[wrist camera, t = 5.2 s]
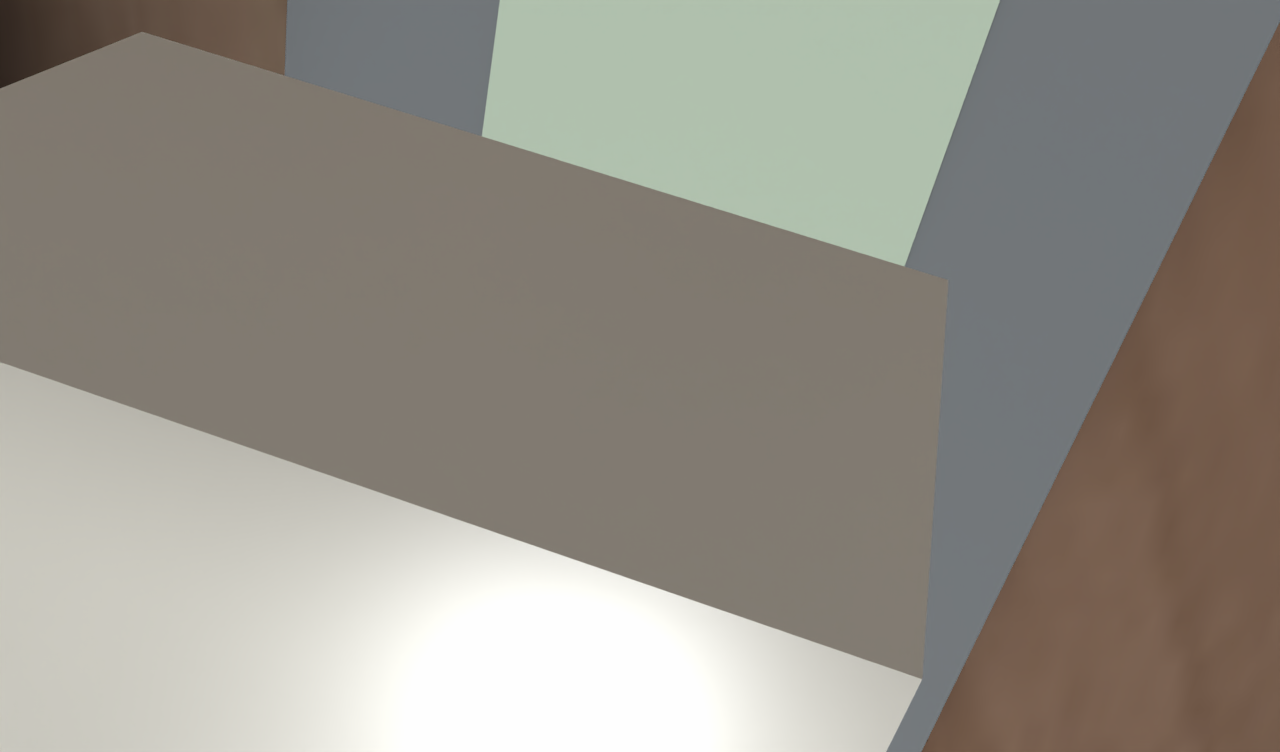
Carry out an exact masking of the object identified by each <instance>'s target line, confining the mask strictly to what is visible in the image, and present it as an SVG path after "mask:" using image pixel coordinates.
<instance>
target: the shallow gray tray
mask: <svg viewBox="0 0 1280 752" xmlns="http://www.w3.org/2000/svg"><path fill="white" fill-rule="evenodd" d="M1279 22H1280V0H287V26H286V54H285V76H287V77H291V78H294V79H297V80H300V81H304V82H307V83H310V84H313V85H317V86H320V87H323V88H326V89H330V90H333V91H336V92H339V93H343V94H346V95H349V96H352V97H356V98H359V99H362V100H365V101H369V102H372V103H375V104H378V105H382V106H385V107H388V108H391V109H395V110H398V111H401V112H404V113H408V114H411V115H414V116H417V117H421V118H424V119H427V120H430V121H434V122H437V123H440V124H443V125H446V126H450V127H453V128H456V129H459V130H463V131H466V132H469V133H472V134H476V135H479V136H482V137H485V138H489V139H492V140H495V141H498V142H502V143H505V144H508V145H511V146H515V147H518V148H521V149H524V150H528V151H531V152H534V153H537V154H541V155H544V156H547V157H550V158H554V159H557V160H560V161H563V162H567V163H570V164H573V165H576V166H580V167H583V168H586V169H589V170H593V171H596V172H599V173H602V174H606V175H609V176H612V177H615V178H619V179H622V180H625V181H628V182H632V183H635V184H638V185H641V186H645V187H648V188H651V189H654V190H657V191H661V192H664V193H667V194H670V195H674V196H677V197H680V198H683V199H687V200H690V201H693V202H696V203H700V204H703V205H706V206H709V207H713V208H716V209H719V210H722V211H726V212H729V213H732V214H735V215H739V216H742V217H745V218H748V219H752V220H755V221H758V222H761V223H765V224H768V225H771V226H774V227H778V228H781V229H784V230H787V231H791V232H794V233H797V234H800V235H804V236H807V237H810V238H813V239H817V240H820V241H823V242H826V243H830V244H833V245H836V246H839V247H843V248H846V249H849V250H852V251H856V252H859V253H862V254H865V255H869V256H872V257H875V258H878V259H881V260H885V261H888V262H891V263H894V264H898V265H901V266H904V267H907V268H911V269H914V270H917V271H920V272H924V273H927V274H930V275H933V276H937V277H940V278H943V279H946V280H948V294H947V309H946V325H945V340H944V355H943V370H942V386H941V401H940V416H939V431H938V447H937V462H936V477H935V493H934V508H933V523H932V538H931V554H930V569H929V584H928V599H927V615H926V630H925V645H924V660H923V676H922V681H921V683H920V685H919V687H918V689H917V691H916V693H915V695H914V697H913V699H912V701H911V703H910V705H909V707H908V709H907V711H906V713H905V715H904V717H903V719H902V721H901V723H900V725H899V727H898V729H897V731H896V733H895V735H894V737H893V739H892V741H891V743H890V745H889V747H888V749H887V751H886V752H921V751H922V749H923V747H924V745H925V743H926V741H927V739H928V737H929V735H930V733H931V731H932V729H933V727H934V725H935V723H936V721H937V719H938V717H939V715H940V713H941V711H942V709H943V707H944V704H945V702H946V700H947V698H948V696H949V694H950V692H951V690H952V688H953V686H954V684H955V682H956V680H957V678H958V676H959V674H960V672H961V670H962V668H963V666H964V664H965V662H966V660H967V658H968V656H969V654H970V652H971V649H972V647H973V645H974V643H975V641H976V639H977V637H978V635H979V633H980V631H981V629H982V627H983V625H984V623H985V621H986V619H987V617H988V615H989V613H990V611H991V609H992V607H993V605H994V603H995V601H996V599H997V597H998V594H999V592H1000V590H1001V588H1002V586H1003V584H1004V582H1005V580H1006V578H1007V576H1008V574H1009V572H1010V570H1011V568H1012V566H1013V564H1014V562H1015V560H1016V558H1017V556H1018V554H1019V552H1020V550H1021V548H1022V546H1023V544H1024V542H1025V539H1026V537H1027V535H1028V533H1029V531H1030V529H1031V527H1032V525H1033V523H1034V521H1035V519H1036V517H1037V515H1038V513H1039V511H1040V509H1041V507H1042V505H1043V503H1044V501H1045V499H1046V497H1047V495H1048V493H1049V491H1050V489H1051V487H1052V484H1053V482H1054V480H1055V478H1056V476H1057V474H1058V472H1059V470H1060V468H1061V466H1062V464H1063V462H1064V460H1065V458H1066V456H1067V454H1068V452H1069V450H1070V448H1071V446H1072V444H1073V442H1074V440H1075V438H1076V436H1077V434H1078V432H1079V430H1080V427H1081V425H1082V423H1083V421H1084V419H1085V417H1086V415H1087V413H1088V411H1089V409H1090V407H1091V405H1092V403H1093V401H1094V399H1095V397H1096V395H1097V393H1098V391H1099V389H1100V387H1101V385H1102V383H1103V381H1104V379H1105V377H1106V375H1107V372H1108V370H1109V368H1110V366H1111V364H1112V362H1113V360H1114V358H1115V356H1116V354H1117V352H1118V350H1119V348H1120V346H1121V344H1122V342H1123V340H1124V338H1125V336H1126V334H1127V332H1128V330H1129V328H1130V326H1131V324H1132V322H1133V320H1134V317H1135V315H1136V313H1137V311H1138V309H1139V307H1140V305H1141V303H1142V301H1143V299H1144V297H1145V295H1146V293H1147V291H1148V289H1149V287H1150V285H1151V283H1152V281H1153V279H1154V277H1155V275H1156V273H1157V271H1158V269H1159V267H1160V265H1161V262H1162V260H1163V258H1164V256H1165V254H1166V252H1167V250H1168V248H1169V246H1170V244H1171V242H1172V240H1173V238H1174V236H1175V234H1176V232H1177V230H1178V228H1179V226H1180V224H1181V222H1182V220H1183V218H1184V216H1185V214H1186V212H1187V210H1188V207H1189V205H1190V203H1191V201H1192V199H1193V197H1194V195H1195V193H1196V191H1197V189H1198V187H1199V185H1200V183H1201V181H1202V179H1203V177H1204V175H1205V173H1206V171H1207V169H1208V167H1209V165H1210V163H1211V161H1212V159H1213V157H1214V155H1215V153H1216V150H1217V148H1218V146H1219V144H1220V142H1221V140H1222V138H1223V136H1224V134H1225V132H1226V130H1227V128H1228V126H1229V124H1230V122H1231V120H1232V118H1233V116H1234V114H1235V112H1236V110H1237V108H1238V106H1239V104H1240V102H1241V100H1242V98H1243V95H1244V93H1245V91H1246V89H1247V87H1248V85H1249V83H1250V81H1251V79H1252V77H1253V75H1254V73H1255V71H1256V69H1257V67H1258V65H1259V63H1260V61H1261V59H1262V57H1263V55H1264V53H1265V51H1266V49H1267V47H1268V45H1269V43H1270V40H1271V38H1272V36H1273V34H1274V32H1275V30H1276V28H1277V26H1278V24H1279Z"/></svg>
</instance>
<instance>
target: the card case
mask: <svg viewBox="0 0 1280 752" xmlns="http://www.w3.org/2000/svg"><path fill="white" fill-rule="evenodd" d="M947 294H948V280H946V279H943V278H940V277H937V276H933V275H930V274H927V273H924V272H920V271H917V270H914V269H911V268H907V267H904V266H901V265H898V264H894V263H891V262H888V261H885V260H881V259H878V258H875V257H872V256H869V255H865V254H862V253H859V252H856V251H852V250H849V249H846V248H843V247H839V246H836V245H833V244H830V243H826V242H823V241H820V240H817V239H813V238H810V237H807V236H804V235H800V234H797V233H794V232H791V231H787V230H784V229H781V228H778V227H774V226H771V225H768V224H765V223H761V222H758V221H755V220H752V219H748V218H745V217H742V216H739V215H735V214H732V213H729V212H726V211H722V210H719V209H716V208H713V207H709V206H706V205H703V204H700V203H696V202H693V201H690V200H687V199H683V198H680V197H677V196H674V195H670V194H667V193H664V192H661V191H657V190H654V189H651V188H648V187H645V186H641V185H638V184H635V183H632V182H628V181H625V180H622V179H619V178H615V177H612V176H609V175H606V174H602V173H599V172H596V171H593V170H589V169H586V168H583V167H580V166H576V165H573V164H570V163H567V162H563V161H560V160H557V159H554V158H550V157H547V156H544V155H541V154H537V153H534V152H531V151H528V150H524V149H521V148H518V147H515V146H511V145H508V144H505V143H502V142H498V141H495V140H492V139H489V138H485V137H482V136H479V135H476V134H472V133H469V132H466V131H463V130H459V129H456V128H453V127H450V126H446V125H443V124H440V123H437V122H434V121H430V120H427V119H424V118H421V117H417V116H414V115H411V114H408V113H404V112H401V111H398V110H395V109H391V108H388V107H385V106H382V105H378V104H375V103H372V102H369V101H365V100H362V99H359V98H356V97H352V96H349V95H346V94H343V93H339V92H336V91H333V90H330V89H326V88H323V87H320V86H317V85H313V84H310V83H307V82H304V81H300V80H297V79H294V78H291V77H287V76H284V75H281V74H278V73H274V72H271V71H268V70H265V69H261V68H258V67H255V66H252V65H248V64H245V63H242V62H239V61H235V60H232V59H229V58H226V57H223V56H219V55H216V54H213V53H210V52H206V51H203V50H200V49H197V48H193V47H190V46H187V45H184V44H180V43H177V42H174V41H171V40H167V39H164V38H161V37H158V36H154V35H151V34H148V33H145V32H140V33H138V34H135V35H133V36H130V37H128V38H125V39H123V40H120V41H118V42H115V43H113V44H110V45H108V46H105V47H103V48H100V49H98V50H95V51H93V52H90V53H88V54H85V55H83V56H80V57H78V58H75V59H73V60H70V61H68V62H65V63H63V64H60V65H58V66H55V67H53V68H50V69H48V70H45V71H43V72H40V73H38V74H35V75H33V76H30V77H28V78H25V79H23V80H20V81H18V82H15V83H13V84H10V85H8V86H5V87H3V88H0V752H886V751H887V749H888V747H889V745H890V743H891V741H892V739H893V737H894V735H895V733H896V731H897V729H898V727H899V725H900V723H901V721H902V719H903V717H904V715H905V713H906V711H907V709H908V707H909V705H910V703H911V701H912V699H913V697H914V695H915V693H916V691H917V689H918V687H919V685H920V683H921V681H922V676H923V660H924V645H925V630H926V615H927V599H928V584H929V569H930V554H931V538H932V523H933V508H934V493H935V477H936V462H937V447H938V431H939V416H940V401H941V386H942V370H943V355H944V340H945V325H946V309H947Z"/></svg>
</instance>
